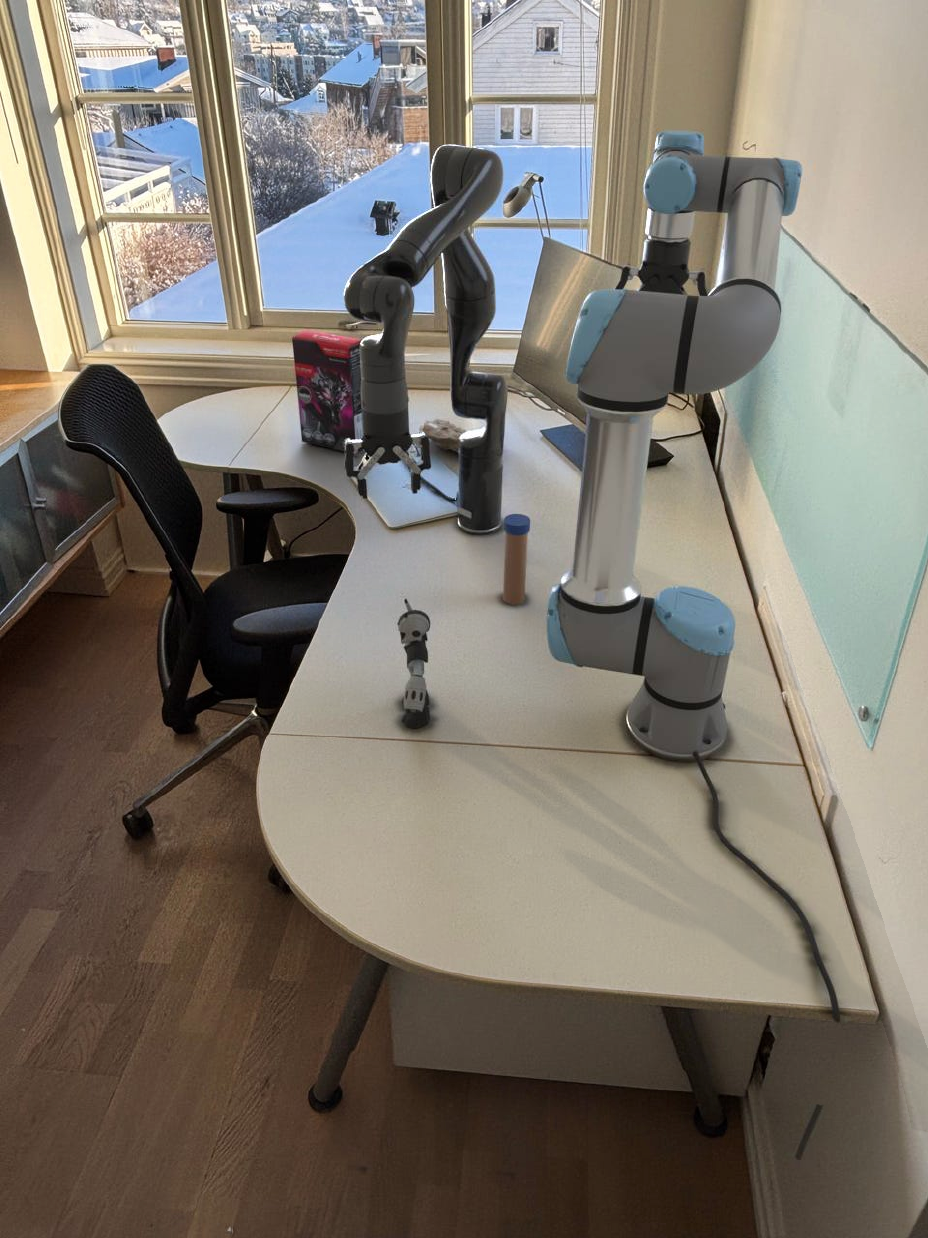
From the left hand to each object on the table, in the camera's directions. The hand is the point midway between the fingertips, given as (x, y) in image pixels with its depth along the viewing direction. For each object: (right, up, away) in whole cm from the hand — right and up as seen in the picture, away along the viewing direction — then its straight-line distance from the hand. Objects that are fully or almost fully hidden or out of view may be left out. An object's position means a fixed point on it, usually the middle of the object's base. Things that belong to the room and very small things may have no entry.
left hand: (389, 494), depth 157 cm
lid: (+22, -4, +8) cm, 24 cm away
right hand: (+46, +24, +6) cm, 52 cm away
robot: (+5, -36, -11) cm, 38 cm away
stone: (+11, +21, +75) cm, 79 cm away
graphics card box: (-20, +23, +77) cm, 82 cm away
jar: (+22, -17, +17) cm, 33 cm away
